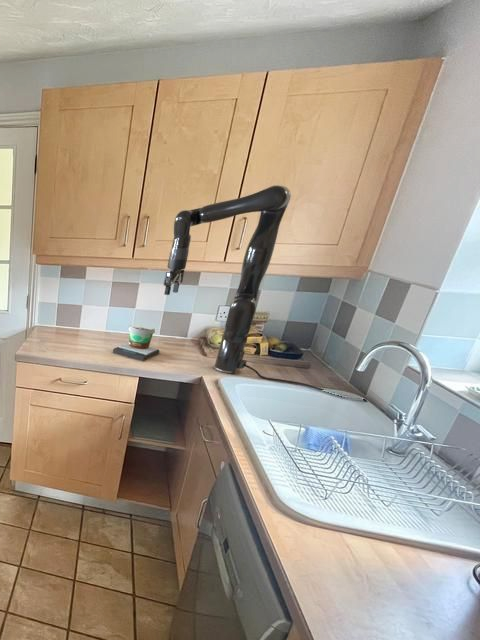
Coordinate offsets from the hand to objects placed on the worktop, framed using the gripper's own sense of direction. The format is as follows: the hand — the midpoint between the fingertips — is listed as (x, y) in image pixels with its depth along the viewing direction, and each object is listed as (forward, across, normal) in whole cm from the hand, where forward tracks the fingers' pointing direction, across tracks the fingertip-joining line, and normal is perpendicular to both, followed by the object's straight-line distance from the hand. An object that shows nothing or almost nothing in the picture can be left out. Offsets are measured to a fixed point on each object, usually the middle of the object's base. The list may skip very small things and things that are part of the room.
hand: (170, 293), depth 194 cm
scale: (+30, -8, +8) cm, 32 cm away
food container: (+28, -7, +8) cm, 29 cm away
